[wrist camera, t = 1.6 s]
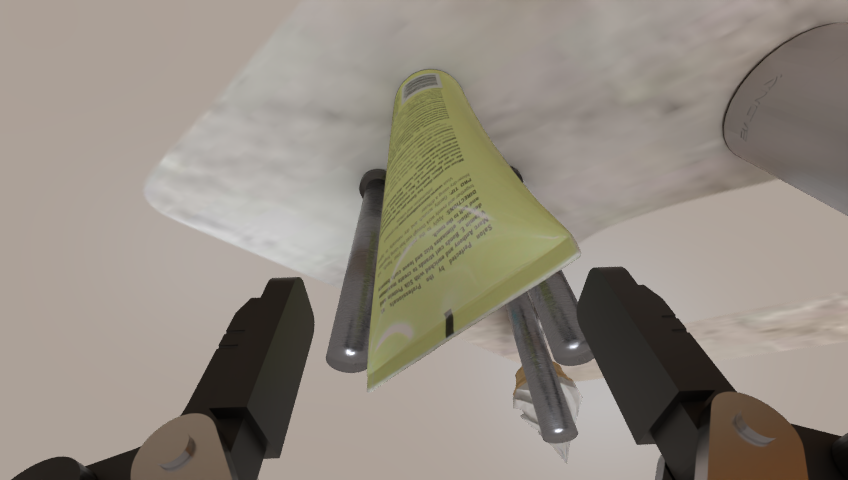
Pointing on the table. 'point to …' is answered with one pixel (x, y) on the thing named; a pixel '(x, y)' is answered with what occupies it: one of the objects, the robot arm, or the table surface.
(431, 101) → the tube
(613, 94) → the table surface
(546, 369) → the wire posts
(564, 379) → the ice cream cone
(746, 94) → the robot arm
